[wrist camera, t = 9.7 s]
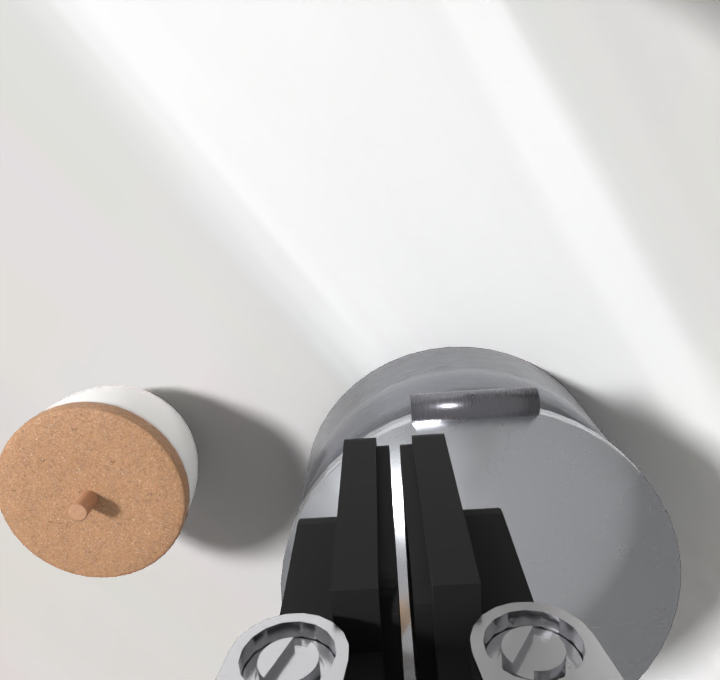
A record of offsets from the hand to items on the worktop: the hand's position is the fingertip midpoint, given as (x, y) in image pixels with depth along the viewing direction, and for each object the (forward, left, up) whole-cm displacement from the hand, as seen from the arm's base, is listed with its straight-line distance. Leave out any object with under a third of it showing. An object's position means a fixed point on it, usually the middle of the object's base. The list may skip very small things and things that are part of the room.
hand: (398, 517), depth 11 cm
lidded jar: (+12, -17, -31) cm, 38 cm away
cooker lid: (+19, +4, -21) cm, 29 cm away
